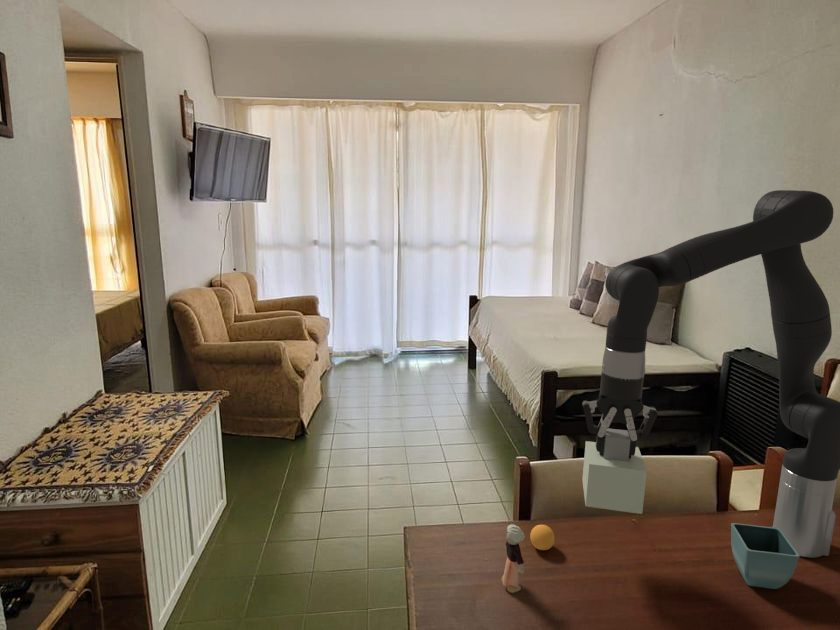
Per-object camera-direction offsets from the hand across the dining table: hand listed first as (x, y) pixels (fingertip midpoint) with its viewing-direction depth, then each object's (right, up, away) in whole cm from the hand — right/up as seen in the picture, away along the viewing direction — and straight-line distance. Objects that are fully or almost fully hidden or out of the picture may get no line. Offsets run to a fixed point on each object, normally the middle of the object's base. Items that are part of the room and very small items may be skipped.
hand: (614, 454), depth 104 cm
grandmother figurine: (-21, -25, -3) cm, 32 cm away
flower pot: (+27, -24, -1) cm, 36 cm away
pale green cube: (0, -9, +2) cm, 9 cm away
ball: (-12, -19, +8) cm, 24 cm away
